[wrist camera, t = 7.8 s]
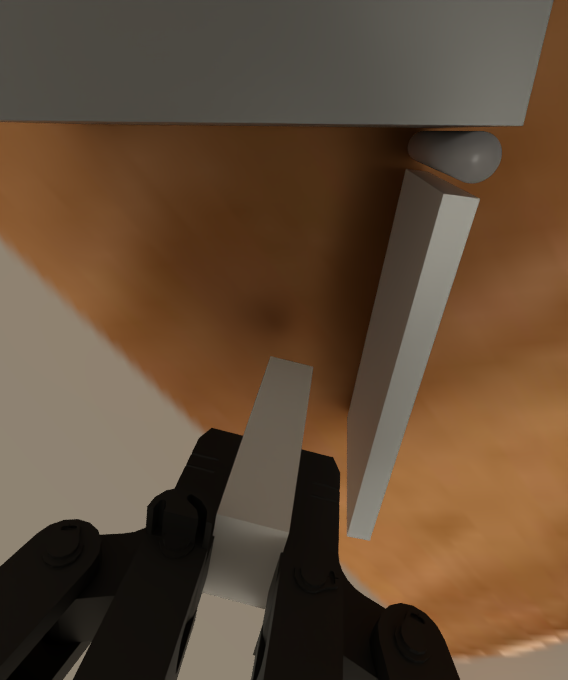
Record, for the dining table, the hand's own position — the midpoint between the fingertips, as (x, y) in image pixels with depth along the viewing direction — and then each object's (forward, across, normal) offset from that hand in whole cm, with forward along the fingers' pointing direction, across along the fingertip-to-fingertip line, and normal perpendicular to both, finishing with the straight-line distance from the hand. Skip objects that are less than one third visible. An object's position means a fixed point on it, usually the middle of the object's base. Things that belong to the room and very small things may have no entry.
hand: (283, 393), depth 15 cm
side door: (+5, +4, +2) cm, 6 cm away
